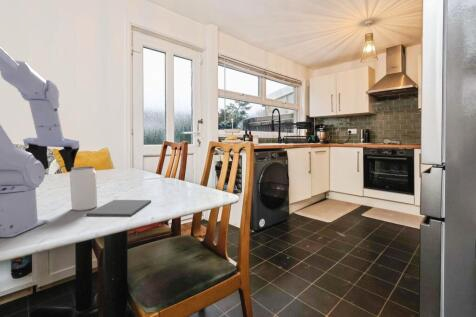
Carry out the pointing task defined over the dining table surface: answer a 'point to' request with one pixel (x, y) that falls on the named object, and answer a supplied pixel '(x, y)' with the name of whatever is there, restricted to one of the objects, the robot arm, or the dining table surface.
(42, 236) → the dining table surface
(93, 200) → the can
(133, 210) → the mat
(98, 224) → the dining table surface
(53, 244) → the dining table surface
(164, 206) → the dining table surface
